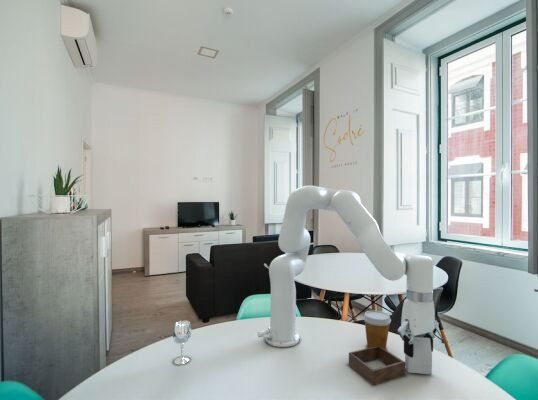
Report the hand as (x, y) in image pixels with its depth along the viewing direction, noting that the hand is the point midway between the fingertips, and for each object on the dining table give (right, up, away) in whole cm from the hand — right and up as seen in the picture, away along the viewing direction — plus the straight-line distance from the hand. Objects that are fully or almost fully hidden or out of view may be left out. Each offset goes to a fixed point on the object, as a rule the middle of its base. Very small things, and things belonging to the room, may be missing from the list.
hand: (418, 352), depth 92 cm
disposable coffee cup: (-9, -6, +14) cm, 18 cm away
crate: (-13, -6, 0) cm, 14 cm away
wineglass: (-75, -5, +4) cm, 75 cm away
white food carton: (0, -6, 0) cm, 6 cm away
